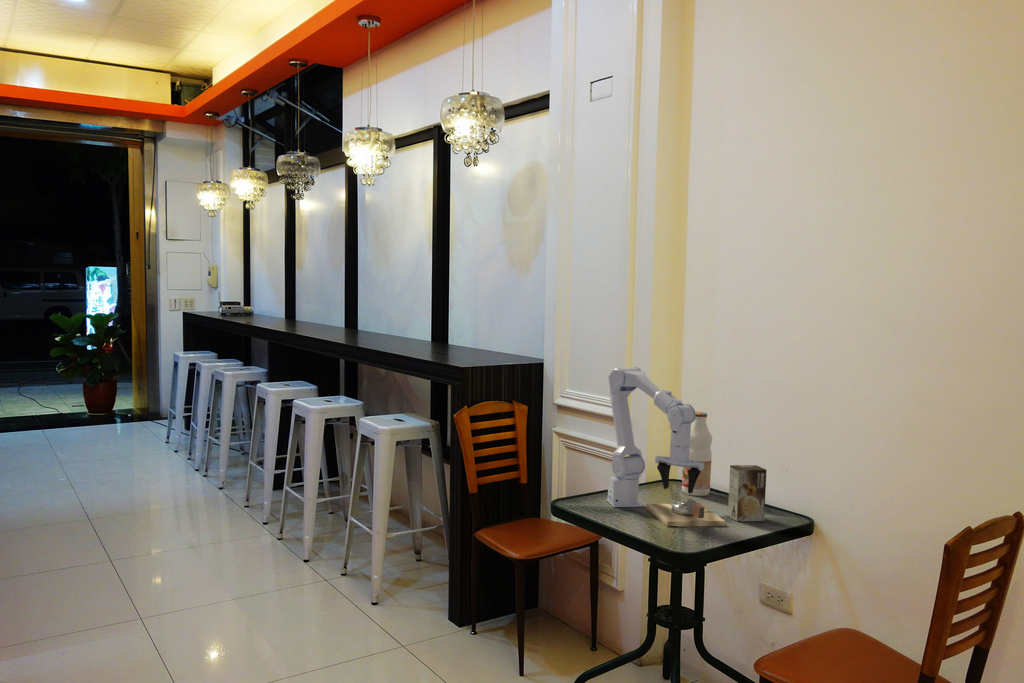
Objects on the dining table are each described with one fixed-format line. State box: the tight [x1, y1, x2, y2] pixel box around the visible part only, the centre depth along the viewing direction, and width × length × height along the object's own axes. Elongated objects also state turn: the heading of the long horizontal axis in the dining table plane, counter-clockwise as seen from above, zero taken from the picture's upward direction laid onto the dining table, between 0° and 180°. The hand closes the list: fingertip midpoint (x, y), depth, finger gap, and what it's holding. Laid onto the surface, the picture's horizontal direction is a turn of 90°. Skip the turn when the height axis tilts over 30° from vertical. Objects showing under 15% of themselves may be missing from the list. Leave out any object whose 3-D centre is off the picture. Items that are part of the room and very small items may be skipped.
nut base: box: [646, 503, 726, 527], centre depth 222 cm, size 20×18×2 cm
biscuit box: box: [727, 464, 767, 522], centre depth 222 cm, size 9×6×16 cm
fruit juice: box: [681, 411, 713, 497], centre depth 250 cm, size 9×9×28 cm
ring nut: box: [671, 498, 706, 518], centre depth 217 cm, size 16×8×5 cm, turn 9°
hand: (678, 490), depth 215 cm, fingers open, 7 cm apart
